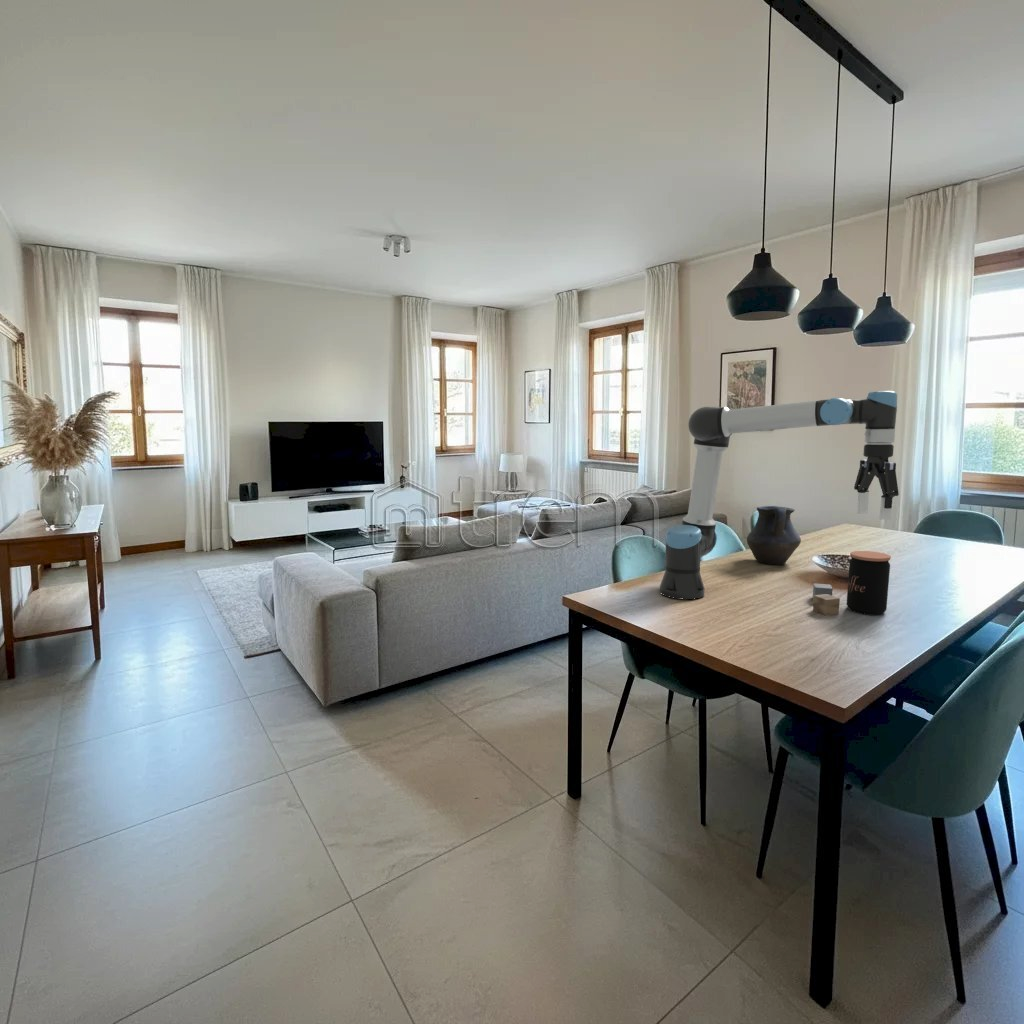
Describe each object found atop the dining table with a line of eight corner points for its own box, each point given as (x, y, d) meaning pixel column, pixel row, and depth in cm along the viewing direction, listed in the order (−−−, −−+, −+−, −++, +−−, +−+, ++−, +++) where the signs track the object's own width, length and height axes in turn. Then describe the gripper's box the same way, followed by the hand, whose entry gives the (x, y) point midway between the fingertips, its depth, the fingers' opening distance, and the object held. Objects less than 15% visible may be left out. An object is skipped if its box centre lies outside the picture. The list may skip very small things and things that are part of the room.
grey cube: (812, 597, 194) (813, 583, 193) (829, 599, 192) (830, 584, 191) (814, 601, 189) (815, 587, 188) (831, 603, 187) (832, 588, 186)
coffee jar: (841, 604, 186) (845, 550, 183) (877, 606, 183) (882, 551, 181) (853, 615, 175) (857, 557, 172) (892, 616, 173) (897, 558, 170)
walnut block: (812, 610, 180) (813, 595, 180) (826, 609, 182) (827, 593, 181) (825, 615, 176) (826, 599, 175) (838, 614, 177) (839, 598, 176)
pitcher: (791, 557, 250) (794, 501, 246) (806, 569, 229) (810, 508, 225) (741, 556, 254) (744, 500, 250) (752, 568, 233) (755, 507, 229)
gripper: (844, 442, 183) (840, 510, 186) (890, 445, 160) (884, 522, 163) (868, 442, 183) (863, 510, 186) (917, 444, 160) (911, 522, 163)
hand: (873, 516), depth 175 cm, fingers open, 11 cm apart
